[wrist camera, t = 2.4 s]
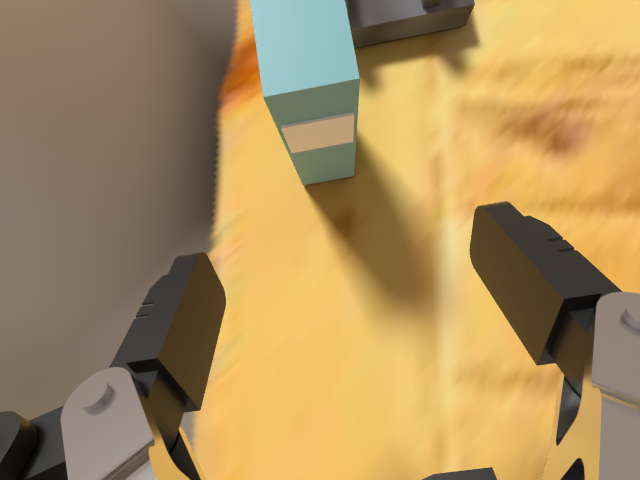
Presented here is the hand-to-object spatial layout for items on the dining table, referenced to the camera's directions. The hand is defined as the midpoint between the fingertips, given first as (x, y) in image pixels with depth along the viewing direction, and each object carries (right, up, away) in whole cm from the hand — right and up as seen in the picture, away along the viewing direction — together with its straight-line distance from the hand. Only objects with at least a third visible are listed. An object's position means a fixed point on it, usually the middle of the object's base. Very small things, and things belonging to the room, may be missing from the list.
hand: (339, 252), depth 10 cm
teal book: (0, +8, +16) cm, 17 cm away
